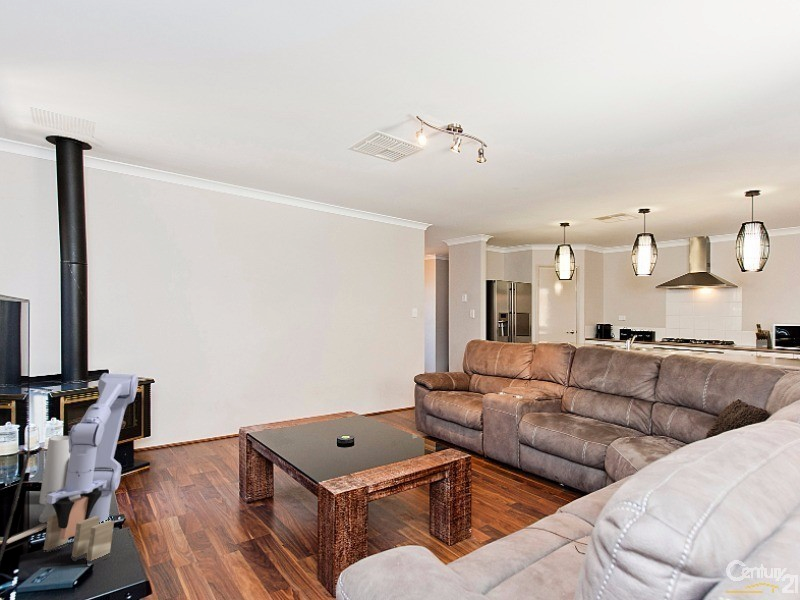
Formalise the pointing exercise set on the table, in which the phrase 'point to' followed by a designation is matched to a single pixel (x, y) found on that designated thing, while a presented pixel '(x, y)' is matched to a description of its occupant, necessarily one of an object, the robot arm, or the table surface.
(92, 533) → the birch domino
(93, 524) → the birch domino
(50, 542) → the birch domino
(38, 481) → the table surface
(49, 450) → the candle
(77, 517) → the terracotta domino
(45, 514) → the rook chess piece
